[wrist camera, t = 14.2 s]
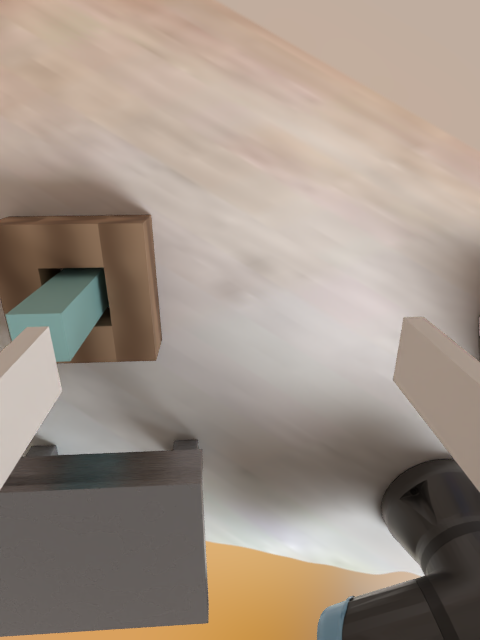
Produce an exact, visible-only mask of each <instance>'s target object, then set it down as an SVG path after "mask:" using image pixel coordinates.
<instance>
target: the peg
mask: <svg viewBox="0 0 480 640" xmlns="http://www.w3.org/2000/svg"><path fill="white" fill-rule="evenodd" d="M108 305H109V301H108V294H107V287H106V280H105V272H104V267H97V268H64V269H63V270H61V271H60V272H59V273H58V274H56V275H55V276H54V277H52V278H51V279H50V280H49V281H47V282H46V283H45V284H44V285H42V286H41V287H40V288H39V289H37V290H36V291H35V292H33V293H32V294H31V295H30V296H28V297H27V298H26V299H25V300H23V301H22V302H21V303H20V304H18V305H17V306H16V307H14V308H13V309H12V310H11V311H9V312H8V313H7V314H6V319H7V323H8V327H9V331H10V335H11V339H12V341H13V340H14V339H15V338H16V337H17V336H18V335H19V334H20V333H21V332H22V331H23V330H24V329H25V328H27V327H47V326H49V330H50V335H51V339H52V344H53V349H54V354H55V359H56V362H62V361H71V360H72V358H73V357H74V355H75V354H76V352H77V351H78V349H79V348H80V346H81V345H82V343H83V342H84V340H85V339H86V338H87V336H88V335H89V333H90V332H91V330H92V329H93V327H94V326H95V324H96V323H97V321H98V320H99V318H100V317H101V315H102V314H103V313H104V311H105V310H106V308H107V307H108Z"/></svg>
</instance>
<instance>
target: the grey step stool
mask: <svg viewBox="0 0 480 640" xmlns="http://www.w3.org/2000/svg"><path fill="white" fill-rule="evenodd" d="M202 469H203V455H202V449H198V440H180V441H174V449H173V451H150V452H126V453H103V454H79V455H58V453H57V449H56V446H33V447H31V448H30V450H29V452H28V453H27V455H26V456H25V457H21V458H20V459H19V461H18V462H17V464H16V466H15V467H14V469H13V470H12V472H11V474H10V475H9V477H8V478H7V480H6V482H5V483H4V485H3V486H2V488H1V489H0V637H2V636H17V635H32V634H48V633H64V632H78V631H95V630H109V629H125V628H141V627H156V626H172V625H186V624H203V623H208V605H209V604H208V586H207V585H208V584H207V566H206V545H205V526H204V507H203V487H202Z"/></svg>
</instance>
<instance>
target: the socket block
mask: <svg viewBox="0 0 480 640" xmlns="http://www.w3.org/2000/svg"><path fill="white" fill-rule="evenodd" d="M97 267H104V272H105V280H106V287H107V294H108V301H109V308H106V310H105V311H104V313H103V314H102V315H101V317H100V318H99V320H98V321H97V323H96V324H95V326H94V327H93V329H92V330H91V332H90V333H89V335H88V336H87V338H86V339H85V340H84V342H83V343H82V345H81V346H80V348H79V349H78V351H77V352H76V354H75V355H74V357H73V358H72V360H71V361H62V362H56V364H58V363H91V362H124V361H156V359H157V355H158V352H159V348H160V345H161V341H162V335H161V324H160V312H159V301H158V289H157V278H156V266H155V255H154V243H153V232H152V220H151V215H108V216H19V217H6V218H3V219H0V298H1V302H2V306H3V310H4V314H5V318H6V314H7V313H8V312H9V311H11V310H12V309H13V308H14V307H16V306H17V305H18V304H20V303H21V302H22V301H23V300H25V299H26V298H27V297H28V296H30V295H31V294H32V293H33V292H35V291H36V290H37V289H39V288H40V287H41V286H42V285H44V284H45V283H46V282H47V281H49V280H50V279H51V278H52V277H54V276H55V275H56V274H58V273H59V272H60V268H97ZM6 322H7V319H6ZM7 326H8V323H7ZM8 330H9V327H8ZM9 334H10V331H9ZM10 338H11V335H10ZM11 342H12V339H11Z"/></svg>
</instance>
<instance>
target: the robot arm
mask: <svg viewBox="0 0 480 640" xmlns="http://www.w3.org/2000/svg"><path fill="white" fill-rule="evenodd" d="M393 381H394V382H395V383H396V385H397V386H398V387H399V389H400V390H401V391H402V392H403V394H404V395H405V396H406V398H407V399H408V400H409V401H410V403H411V404H412V405H413V407H414V408H415V409H416V411H417V412H418V413H419V414H420V416H421V417H422V418H423V420H424V421H425V422H426V423H427V425H428V426H429V427H430V429H431V430H432V431H433V432H434V434H435V435H436V436H437V438H438V439H439V440H440V442H441V443H442V444H443V445H444V447H445V448H446V449H447V451H448V452H449V453H450V454H451V456H452V457H453V458H454V460H434V461H429V462H426V463H422V464H420V465H417V466H415V467H413V468H411V469H409V470H407V471H406V472H404V473H403V474H401V475H400V476H399V477H398V478H397V479H396V480H395V481H394V482H393V483H392V484H391V485H390V486H389V488H388V489H387V491H386V493H385V495H384V497H383V500H382V505H381V511H382V516H383V518H384V521H385V523H386V525H387V527H388V529H389V531H390V533H391V534H392V536H393V537H394V538H395V539H396V540H397V541H398V542H399V543H400V544H401V545H402V547H403V548H404V549H405V550H406V551H407V552H408V553H409V554H410V555H411V557H412V558H413V559H414V560H415V561H416V562H417V563H418V564H419V565H420V567H421V568H422V570H423V572H424V574H425V576H423V577H420V578H417V579H413V580H410V581H406V582H403V583H399V584H396V585H393V586H390V587H387V588H383V589H380V590H377V591H373V592H370V593H367V594H363V595H360V596H357V597H355V596H350V597H349V598H347V599H346V601H343V602H340V603H338V604H335V605H332V606H329V607H328V608H326V609H325V610H324V611H323V613H322V614H321V616H320V619H319V622H318V631H317V640H480V362H479V361H478V360H477V359H475V358H474V357H473V356H472V355H470V354H469V353H468V352H467V351H465V350H464V349H463V348H462V347H460V346H459V345H458V344H457V343H455V342H454V341H453V340H452V339H450V338H449V337H448V336H447V335H445V334H444V333H443V332H442V331H440V330H439V329H438V328H437V327H435V326H434V325H433V324H432V323H430V322H429V321H428V320H427V319H425V318H424V317H404V318H403V324H402V330H401V336H400V342H399V348H398V354H397V360H396V366H395V372H394V377H393ZM61 393H62V388H61V383H60V378H59V373H58V369H57V364H56V359H55V354H54V349H53V344H52V339H51V335H50V330H49V326H47V327H27V328H25V329H24V330H23V331H22V332H21V333H20V334H19V335H18V336H17V337H16V338H15V339H14V340H13V341H12V342H11V343H10V344H9V345H8V346H7V347H5V348H4V349H3V350H2V351H1V352H0V489H1V488H2V486H3V485H4V483H5V482H6V480H7V478H8V477H9V475H10V474H11V472H12V470H13V469H14V467H15V466H16V464H17V462H18V461H19V459H20V458H21V456H22V455H23V453H24V451H25V450H26V448H27V447H28V445H29V443H30V442H31V440H32V439H33V437H34V435H35V434H36V432H37V431H38V429H39V427H40V426H41V424H42V423H43V421H44V420H45V418H46V416H47V415H48V413H49V412H50V410H51V408H52V407H53V405H54V404H55V402H56V400H57V399H58V397H59V396H60V394H61Z"/></svg>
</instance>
